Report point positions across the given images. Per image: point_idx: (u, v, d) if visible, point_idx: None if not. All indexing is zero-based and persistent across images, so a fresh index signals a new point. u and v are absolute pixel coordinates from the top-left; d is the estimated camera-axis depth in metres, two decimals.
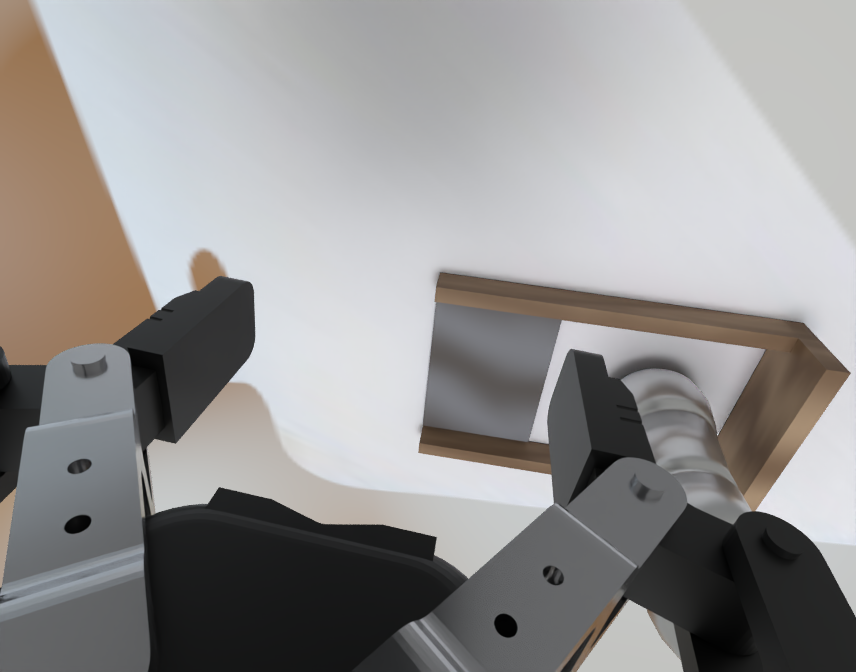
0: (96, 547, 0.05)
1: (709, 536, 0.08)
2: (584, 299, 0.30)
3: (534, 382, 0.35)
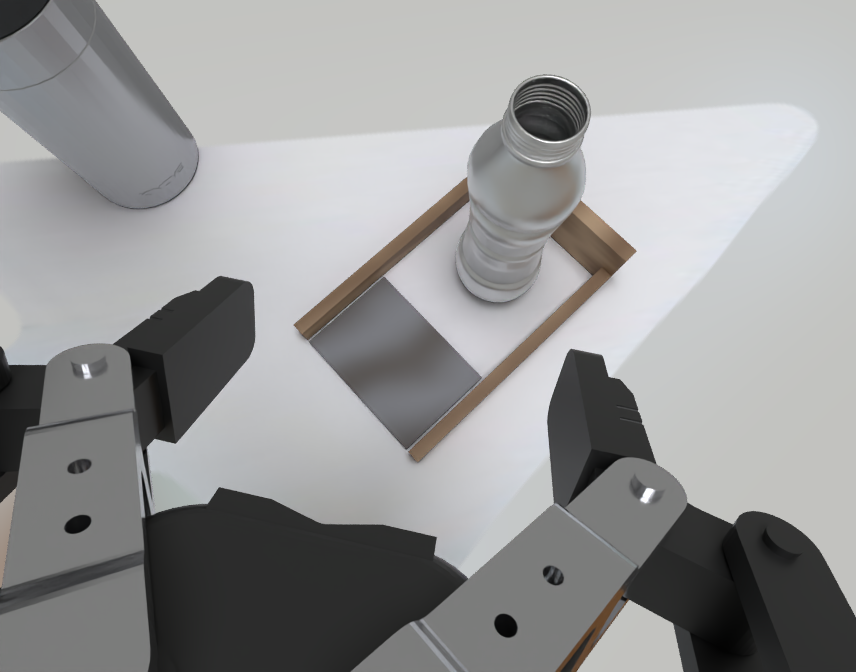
0: (97, 547, 0.05)
1: (709, 536, 0.08)
2: None
3: (426, 332, 0.40)
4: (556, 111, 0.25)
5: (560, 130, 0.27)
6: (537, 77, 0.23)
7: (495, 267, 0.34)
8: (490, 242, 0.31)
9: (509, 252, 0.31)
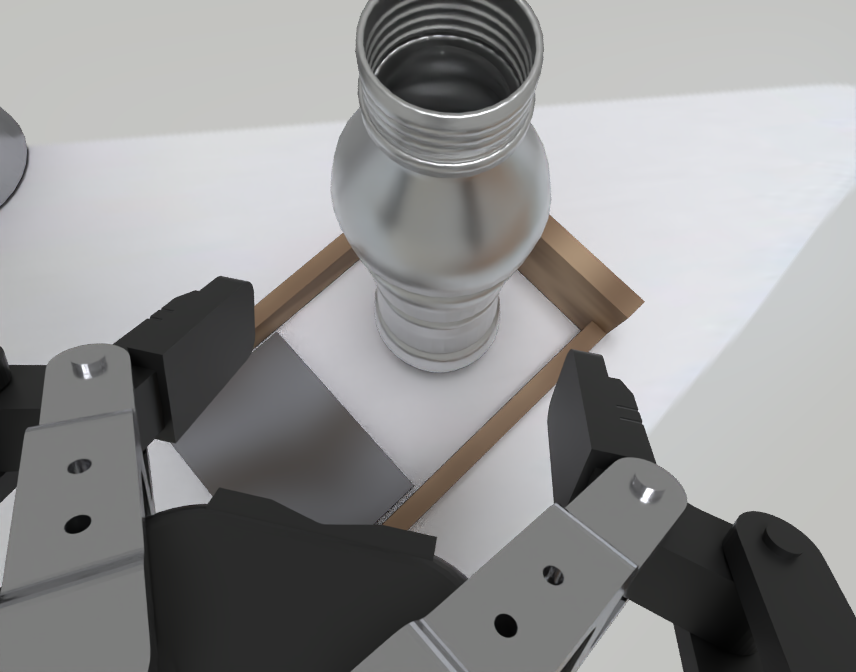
0: (96, 547, 0.05)
1: (709, 536, 0.08)
2: None
3: (335, 415, 0.27)
4: (481, 58, 0.12)
5: None
6: None
7: (418, 333, 0.21)
8: (396, 301, 0.18)
9: (430, 318, 0.19)
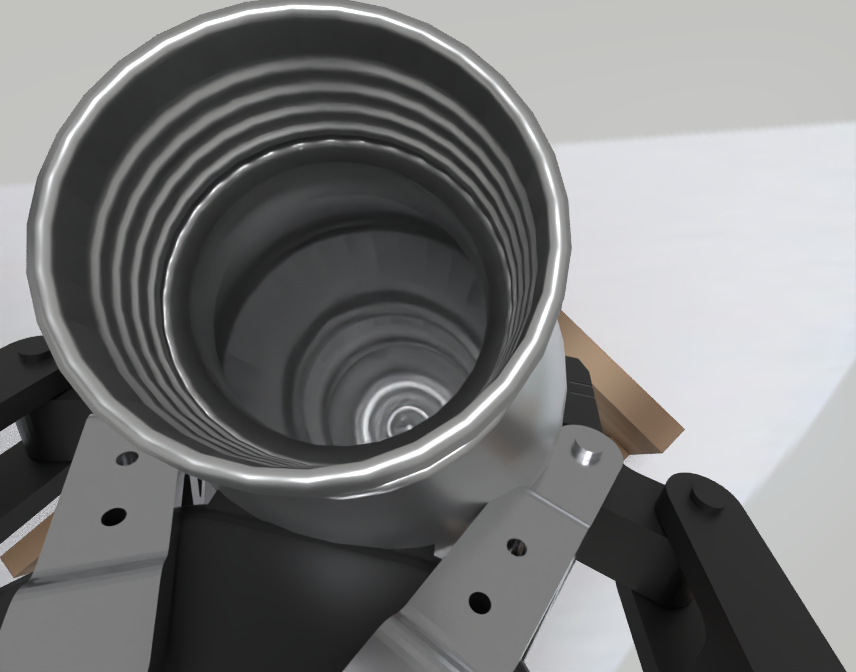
0: (126, 543, 0.05)
1: (644, 496, 0.08)
2: None
3: None
4: (427, 185, 0.06)
5: None
6: (247, 13, 0.04)
7: None
8: None
9: None
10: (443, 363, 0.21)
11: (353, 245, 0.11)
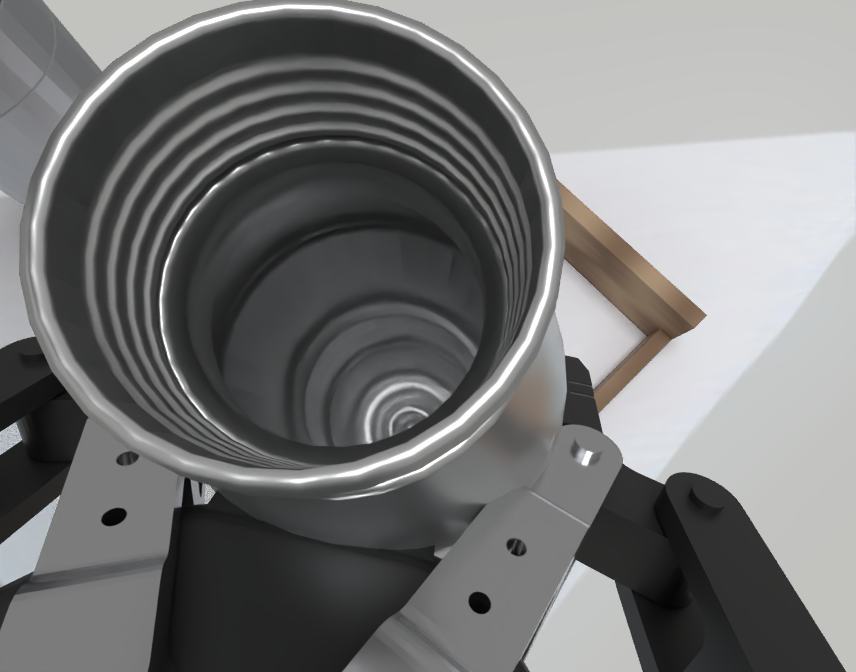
0: (126, 544, 0.05)
1: (644, 496, 0.08)
2: None
3: None
4: (423, 185, 0.06)
5: None
6: (241, 13, 0.04)
7: None
8: None
9: None
10: (445, 364, 0.21)
11: (353, 246, 0.11)
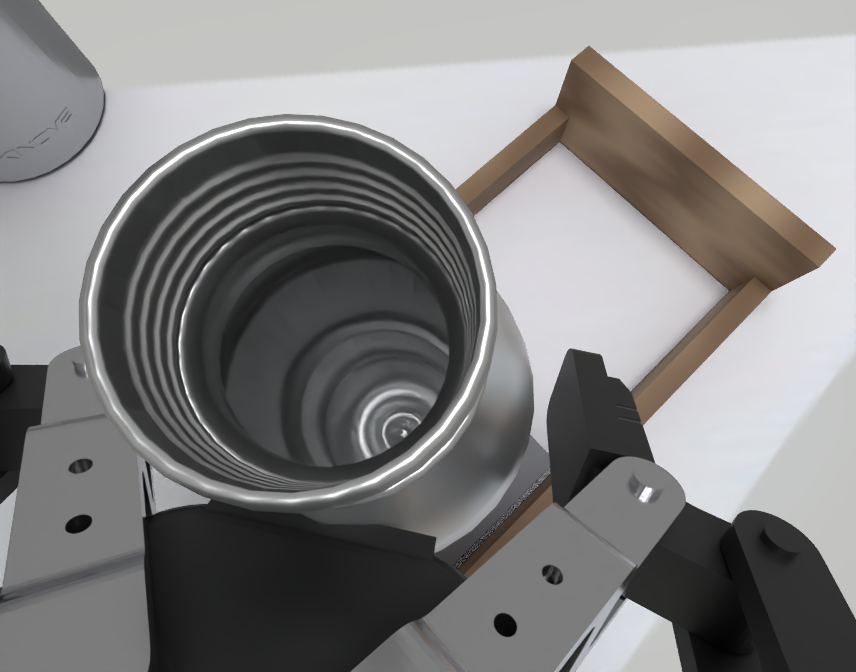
0: (97, 547, 0.05)
1: (708, 535, 0.08)
2: None
3: None
4: (401, 243, 0.07)
5: None
6: (250, 128, 0.05)
7: None
8: None
9: None
10: (436, 372, 0.22)
11: (346, 272, 0.12)
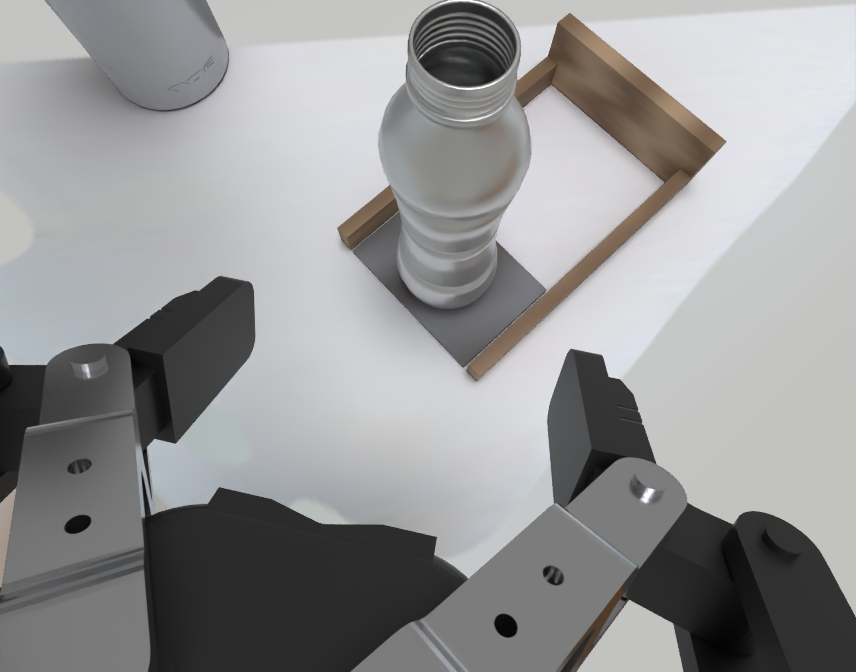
0: (96, 547, 0.05)
1: (709, 536, 0.08)
2: None
3: None
4: (484, 54, 0.18)
5: None
6: (449, 1, 0.16)
7: (433, 266, 0.28)
8: (419, 234, 0.25)
9: (443, 247, 0.25)
10: None
11: None
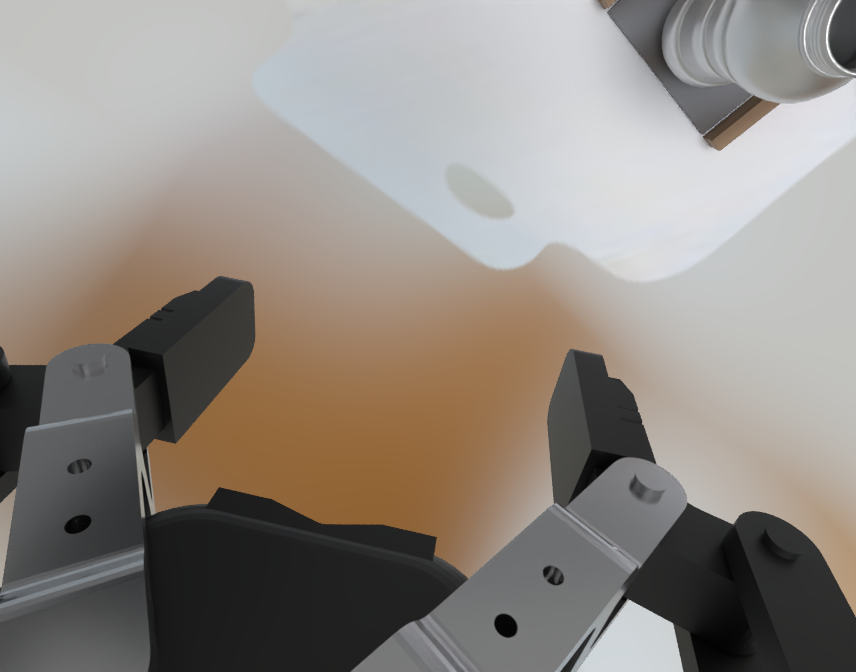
0: (96, 547, 0.05)
1: (709, 536, 0.08)
2: None
3: None
4: None
5: None
6: None
7: (717, 79, 0.30)
8: (725, 76, 0.27)
9: None
10: None
11: None
